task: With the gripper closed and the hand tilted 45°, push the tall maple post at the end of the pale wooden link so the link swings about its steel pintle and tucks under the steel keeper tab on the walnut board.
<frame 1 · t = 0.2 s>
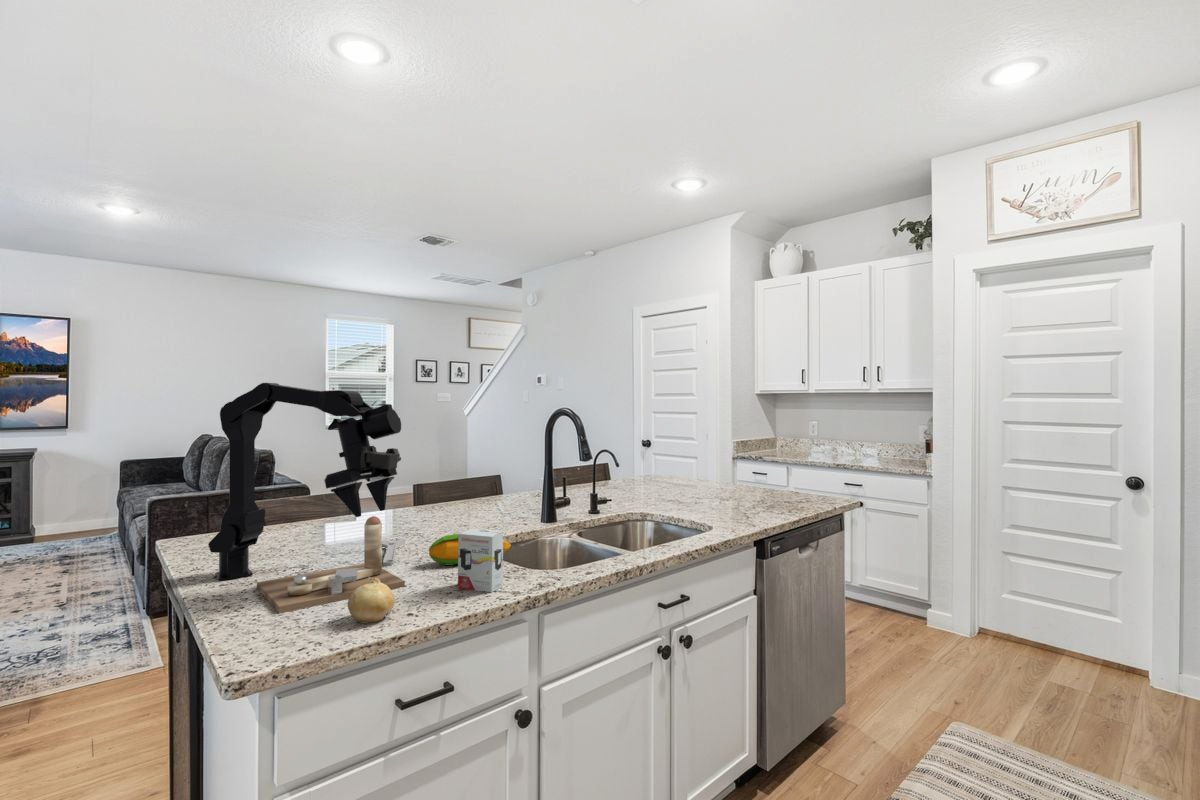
hand: (371, 513, 128), 15 cm above the worktop, tool tilted 15°, fingers open, 9 cm apart
onion: (371, 619, 105), on the worktop
walnut board: (330, 587, 123), on the worktop
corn: (470, 563, 144), on the worktop
adjustable wrench: (388, 556, 151), on the worktop
ink box: (480, 588, 123), on the worktop
keeper: (300, 599, 116), resting on walnut board
link: (337, 552, 122), point 8 cm above the worktop, hinge at 0.0°
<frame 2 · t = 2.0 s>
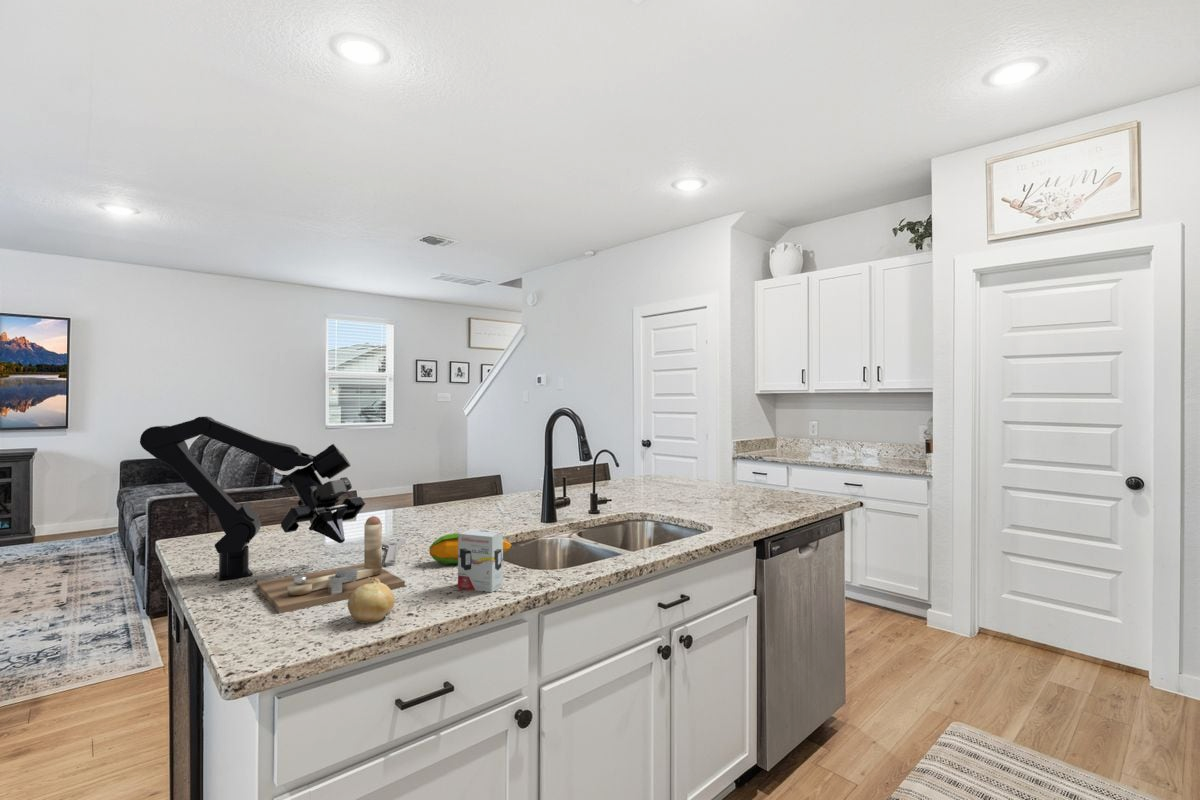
hand: (342, 541, 132), 8 cm above the worktop, tool tilted 45°, fingers closed
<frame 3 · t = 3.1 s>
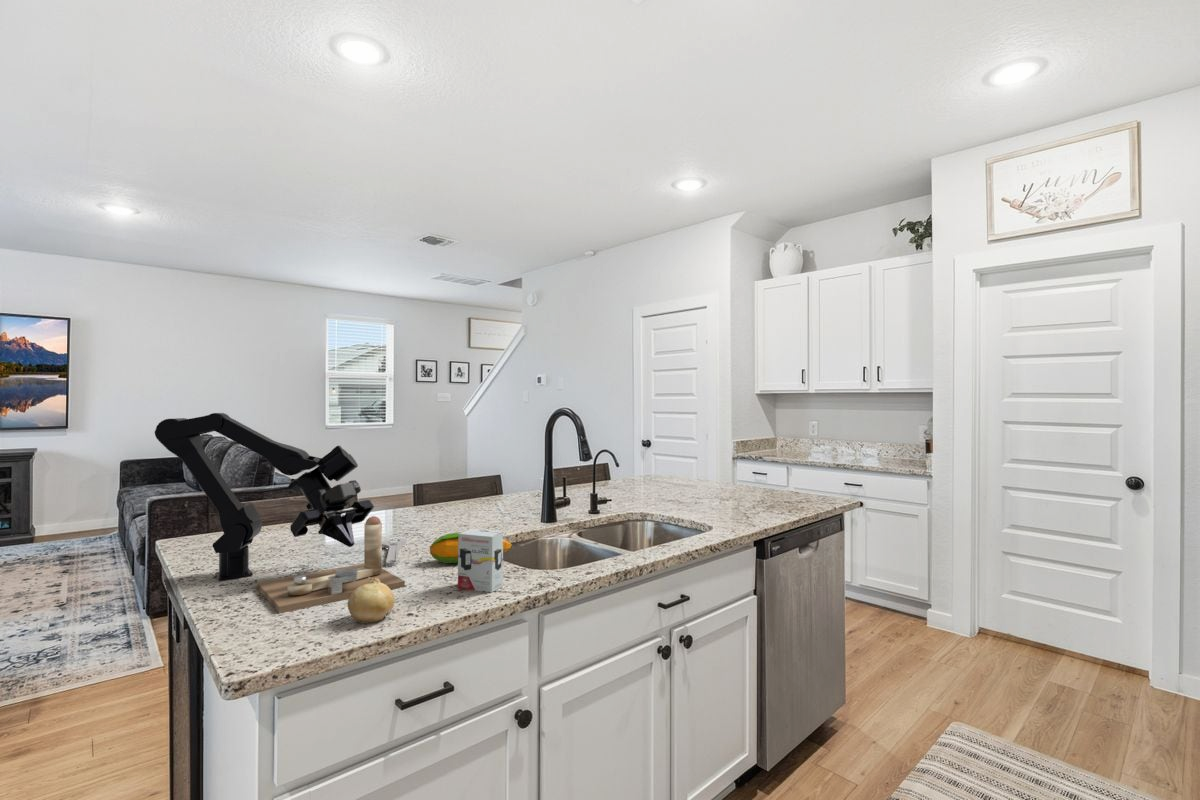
hand: (352, 545, 130), 7 cm above the worktop, tool tilted 45°, fingers closed
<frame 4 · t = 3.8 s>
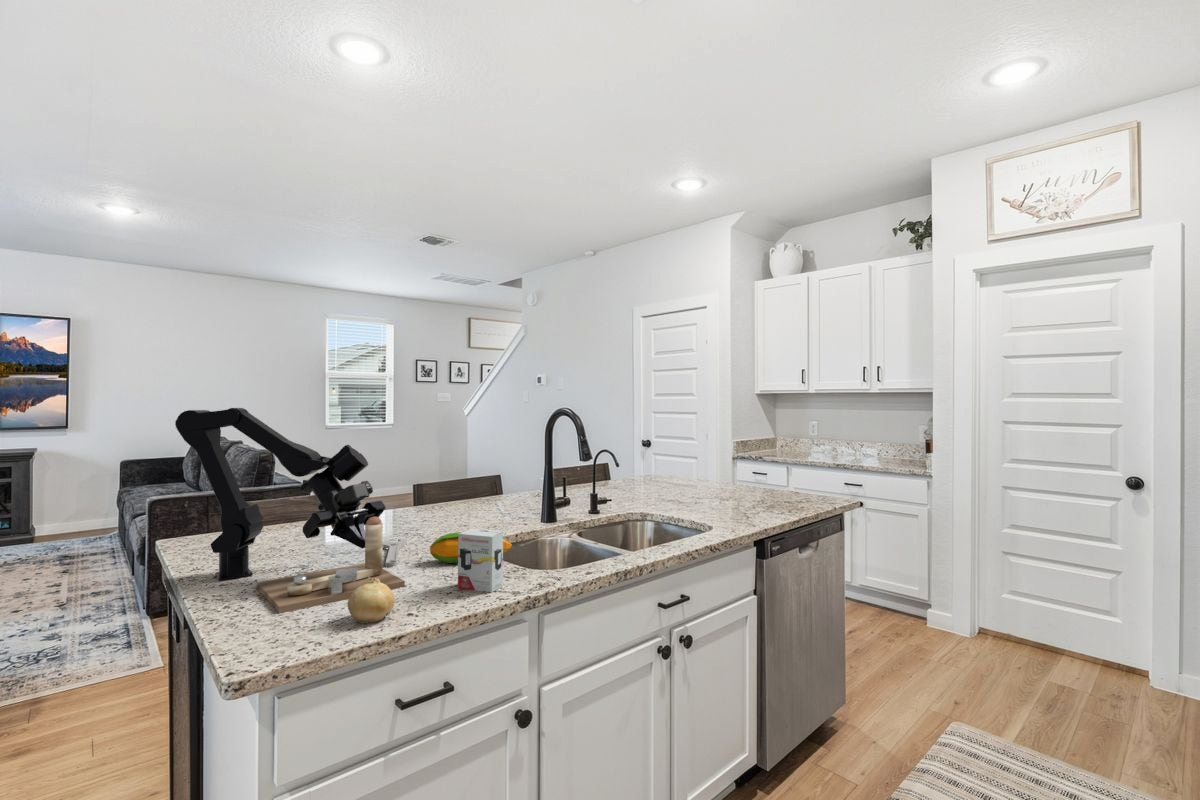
hand: (364, 547, 129), 7 cm above the worktop, tool tilted 45°, fingers closed
link: (338, 552, 122), point 8 cm above the worktop, hinge at -1.1°, touching gripper
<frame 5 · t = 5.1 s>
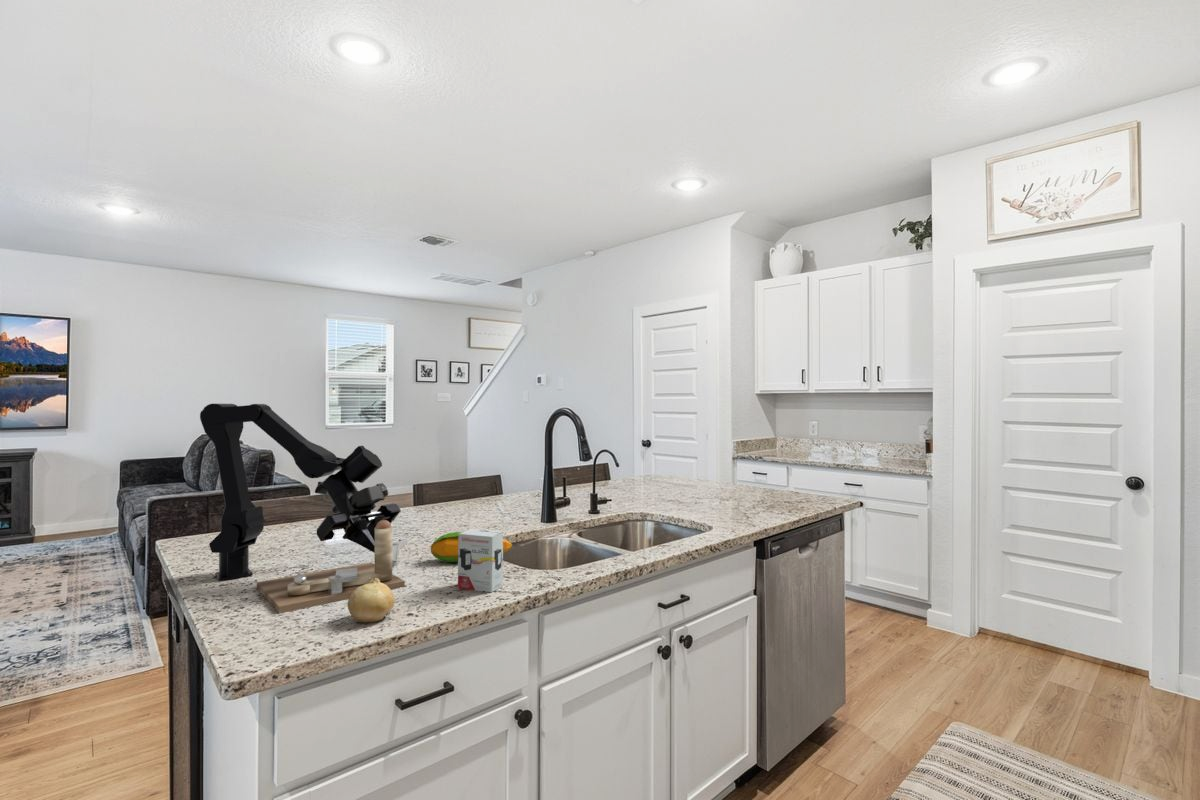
hand: (379, 551, 126), 7 cm above the worktop, tool tilted 45°, fingers closed
link: (342, 554, 120), point 8 cm above the worktop, hinge at -20.4°, touching gripper
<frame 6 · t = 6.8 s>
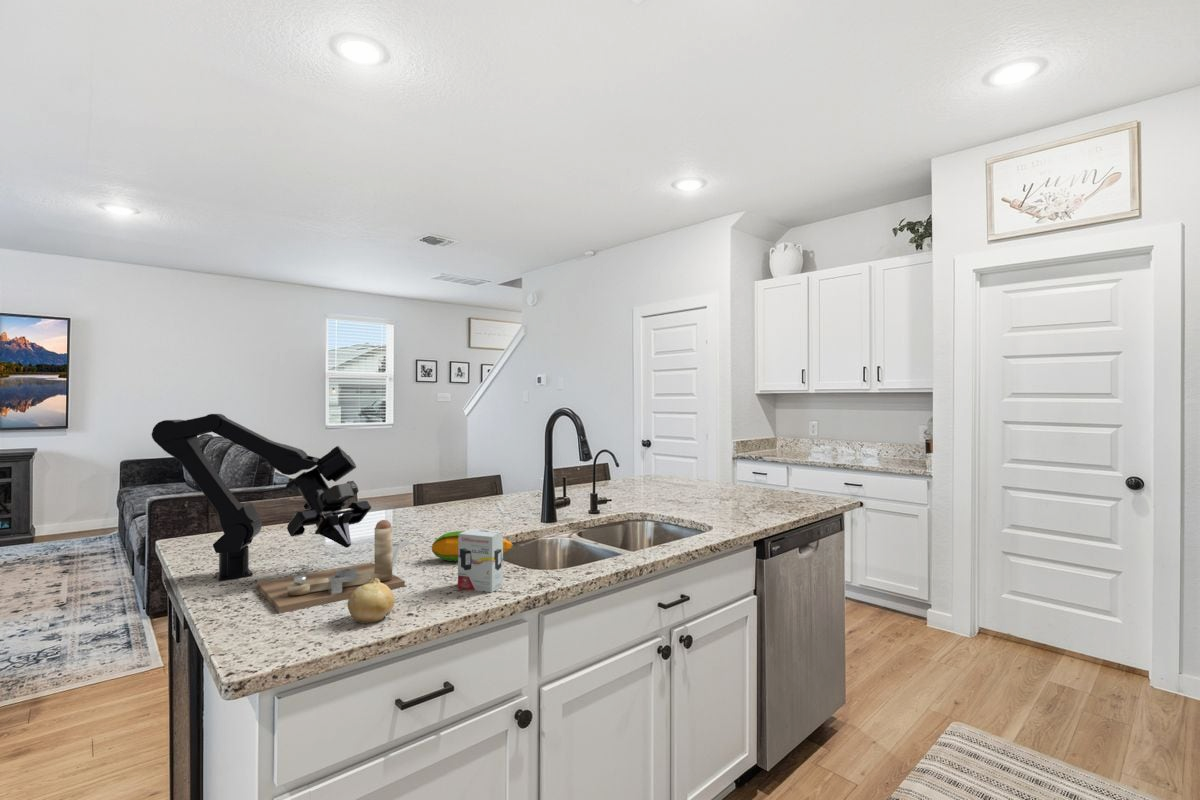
hand: (348, 546, 131), 7 cm above the worktop, tool tilted 45°, fingers closed
link: (342, 554, 120), point 8 cm above the worktop, hinge at -20.3°
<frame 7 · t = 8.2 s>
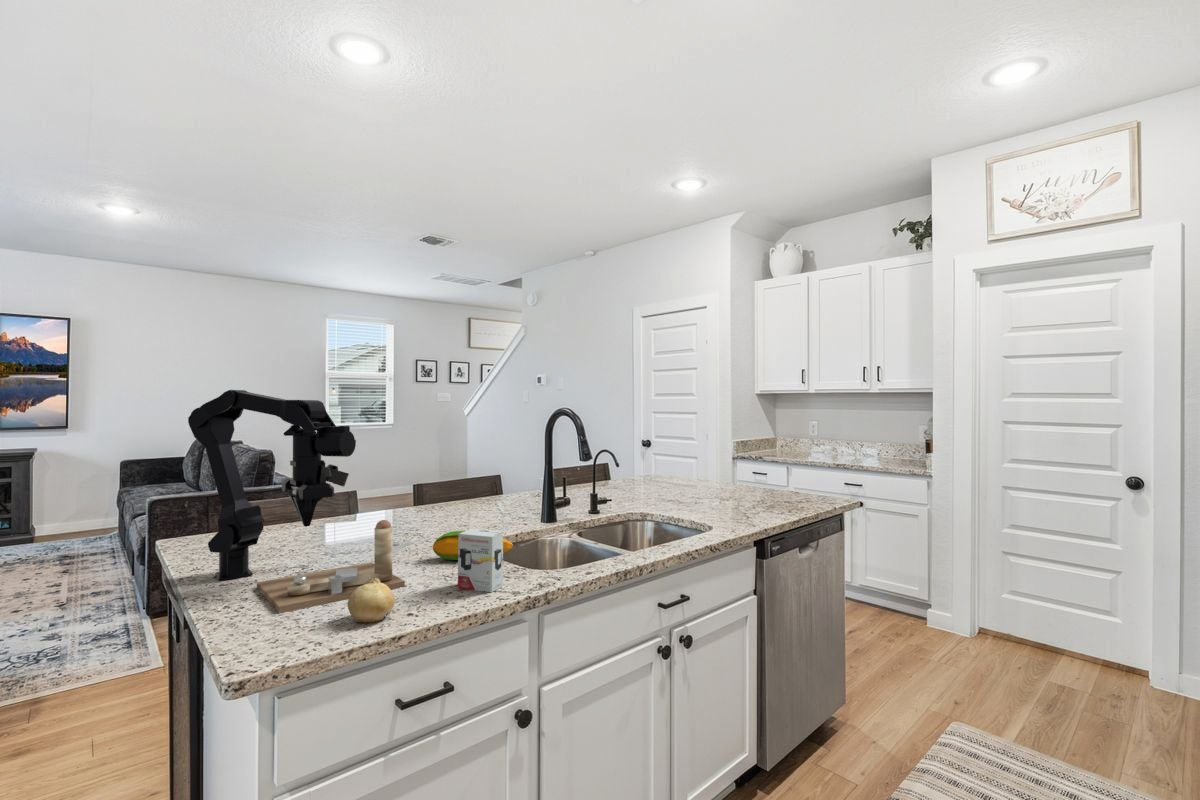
hand: (306, 526, 129), 12 cm above the worktop, tool pointing down, fingers closed
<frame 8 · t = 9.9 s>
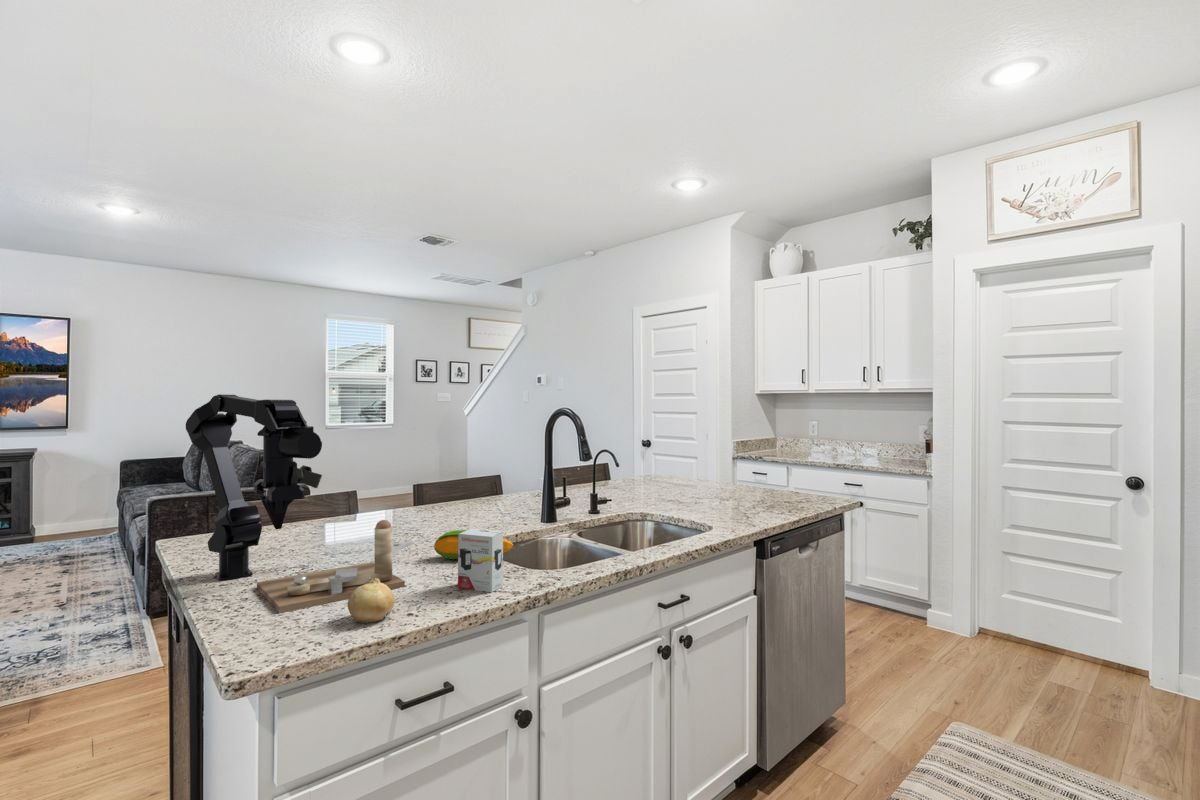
hand: (278, 528, 126), 12 cm above the worktop, tool pointing down, fingers closed
at the end: link at -20° (first picture: +0°) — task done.
